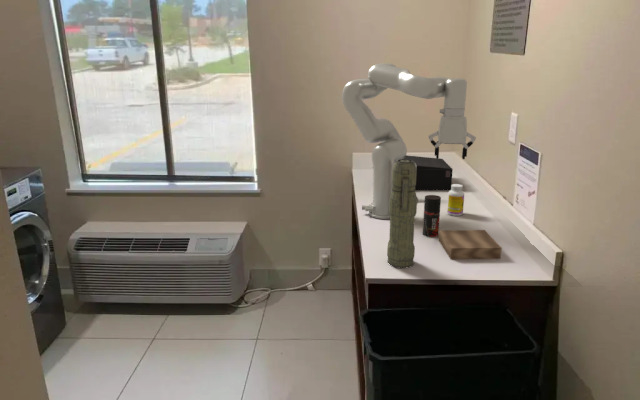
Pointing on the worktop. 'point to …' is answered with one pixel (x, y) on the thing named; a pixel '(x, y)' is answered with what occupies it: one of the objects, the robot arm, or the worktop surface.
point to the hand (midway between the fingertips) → (450, 158)
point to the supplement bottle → (455, 200)
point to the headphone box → (432, 173)
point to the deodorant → (431, 215)
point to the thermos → (402, 214)
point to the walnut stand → (469, 244)
